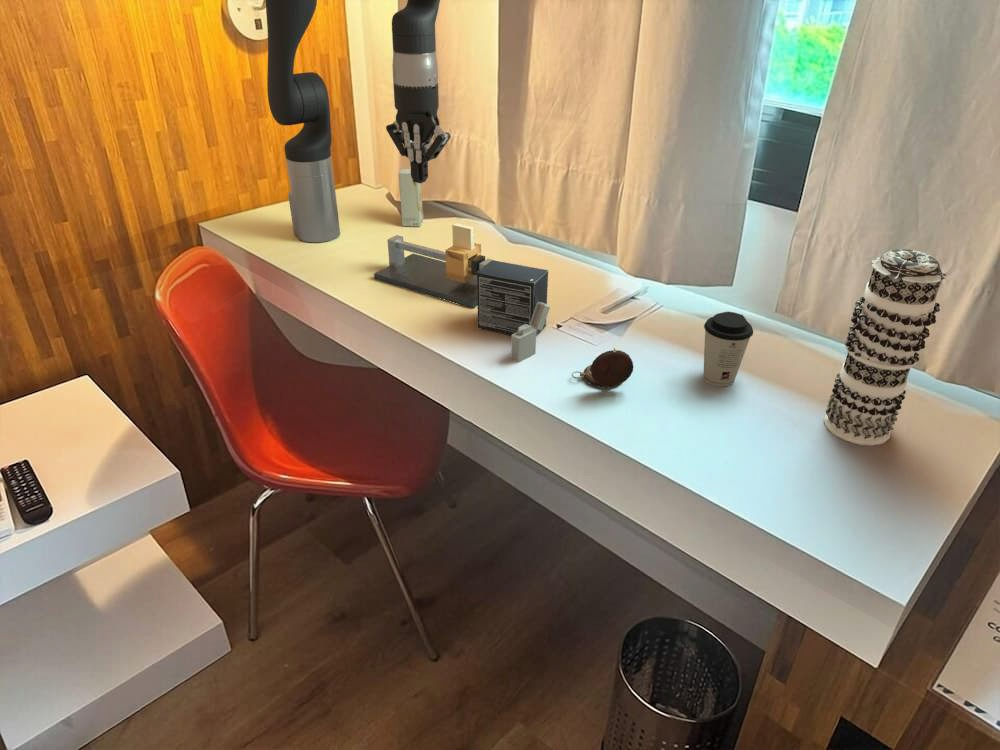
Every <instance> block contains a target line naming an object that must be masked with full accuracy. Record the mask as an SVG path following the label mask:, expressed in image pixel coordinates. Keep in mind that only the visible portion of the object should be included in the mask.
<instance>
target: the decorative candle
mask: <svg viewBox="0 0 1000 750" xmlns="http://www.w3.org/2000/svg"><path fill="white" fill-rule="evenodd" d="M871 266H872V267H873V268H872V270H871V275H870V279H869V281H868V282H867V283H866V287H865V290H864V293H863V295H862V296H861V297H859V299H858V300H856V301H855V306H854V308H853V309H854V310H853V312H852V316H851V319H850V321H851V322H852V324H851V325H850V326H849V331H848V333H847V337H846V341H845V343H844V346H845V349H846V351H847V355H846V359H845V361H844V362H843V364H842V367H841V370H840V372H838V373H837V374H836V378H835V379H834V384H833V388H832V390H831V392H832V393H831V394H830V396H829V400H828V404H827V406H826V409H825V416H824V420H823V423H824V424H825V427H826V429H827V430H828V431H830V432H831V433H832V434H833V435H834V436H836V437H838V438H840V439H841V440H844V441H845V442H847V443H852V444H856V445H858V446H859V445H861V446H872V447H874V446H879V445H883V444H885V443H886V442H887V441H888V440H889V439H890V437H891V431H894V425H895V424H896V423H895V422H897V421H898V417H897V416H898V415H899V412H898V411H900V410H901V409H902V403H903V401H904V400H905V399H906V387H907V383H908V376H909V374H910V371H911V368H913V367H914V366H916V365H917V363H918V362H919V361H920V354H919V353H918V352H920V350H923V349H925V348H926V341H925V339H926V338H929V337H930V330H929V328H928V327H930V326H931V325H934V324H936V323H937V320H936V318H937V315H936V313H937V312H940V311H941V308H940V306H941V305H940V303H938V302H937V297H938V293H939V290H940V287H941V284H942V280H945V279H946V278H947V277H946V276H947V273H946V272H945V271H944V270H943V268H941V266H940V263H939V261H938V260H937V259H936V258H935V257H934V256H933V255H930V254H928V253H926V252H923V251H919V250H916V249H915V250H913V249H905V248H896V249H891V250H889V251H888V252H885V253H883V254H882V255H881V256H878V257H876V258H874V259H872V260H871ZM862 304H863V305H862Z"/></svg>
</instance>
